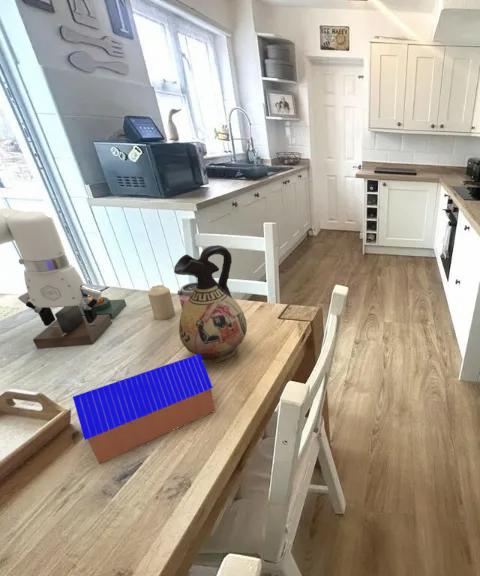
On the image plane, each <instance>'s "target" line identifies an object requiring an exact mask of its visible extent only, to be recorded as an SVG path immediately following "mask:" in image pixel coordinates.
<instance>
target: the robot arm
mask: <svg viewBox="0 0 480 576" xmlns="http://www.w3.org/2000/svg"><path fill="white" fill-rule="evenodd" d="M10 242H15V244H16V247H17V249H18V251H19V254H20V256H21V258H19V259H18V263H19V264H20V265H24V266H25V268H26V269H24V271H23V275H24V276H23V277H24V283H25V288H26V290H27V292H24V293H23V294H21V295H20V296H18V297H17V299H18V300H19V301H20V302H22V303H23V304H25V306H26V307H27V308H29V309H31V310H33V312H34V313H36V314H38V315H39V317H40V320H41V322H42V323H43V325H44V326H45V327H48V326H50V325H51V324H52V323H53V322H54V321H55V320H56V316H55V314H54V312H53V310H52V308H63V307H68V306H77V305H78V306H81V307H82V308H84V309H85V310H84V314H85V317H86V320H87V322H88V323H92V322H93V321H94V320H95V319H96V318H97V313H96V311H95V308H94V306H95V305H96V303H97V302H98V301H99V299H100V297H102V292H101V291H99V290H95V289H93V288H89V287H86V284H85V282H84V281H83V279H82V277H81V275H80V273H79V271H78V270H77V269H76V267H75V266H74V265H73V264H70V260H69V259H68V256H67V253H66V251H65V248H64V245H63V242H62V240H61V237H60V235H59V232H58V230H57V227H56V224H55V222H54V219H53V217H52V216H51V215H50V214H49V213H47V212H45V211H36V210H35V211H24V210H19V209H13V208H7V207H0V245H3V244H6V243H10ZM91 296H92V300H91V299H89V298H88V297H91ZM83 301H84V302H83ZM86 303H87V304H86Z"/></svg>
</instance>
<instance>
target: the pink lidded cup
mask: <svg viewBox="0 0 480 576" xmlns="http://www.w3.org/2000/svg"><path fill="white" fill-rule="evenodd" d="M197 284H198V281H197V282H190V283H186V284H184V285H182V286H181V287H180V289H178V290H177V293H176V294H177V296H178V298H179V302H180V306H181V312H182V311H183V308H184V306H185V304H186V303H187V301H188V299H189V297H190V295H191V294H192V292H193V291H194V289H195V288H196V286H197Z"/></svg>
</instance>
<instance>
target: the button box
mask: <svg viewBox="0 0 480 576" xmlns="http://www.w3.org/2000/svg"><path fill="white" fill-rule="evenodd" d="M101 297H102V299H103V302H102V303H100V304H97V305H95V306H94V308H95V311H96V313H97V315H107V314H109V315H110V318H111V321H112V320H115V319H116V317H117V316H118V315H119V314H120V313H121V312H122V311H123V310H124V309H125V307H126V306H127V303H126V300H125V299H124V298H123V299H109V297H105V296H101ZM83 302H84V301H83ZM86 304H87V303H86ZM78 306H79V305H78ZM79 308H80V311H81V313H82V316H85V314H84V310H85V309H84V308H82V307H81V306H79Z"/></svg>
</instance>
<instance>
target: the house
mask: <svg viewBox="0 0 480 576" xmlns="http://www.w3.org/2000/svg"><path fill="white" fill-rule="evenodd" d="M212 389H213V385H212V382H211V379H210V376H209V374H208V371H207V369H206V366H205V364H204V361H203V360H202V358H201V356H200V354H197V355H195V354H193V355H191V356H188V357H186V358H183V359H179V360H177V361H174V362H171V363H168V364H165V365H162V366H160V367H156V368H153V369H150V370H147V371H145V372H144V371H143V372H141V373H139V374H138V373H137V374H135V375H132V376H129V377H126V378H124V379H120V380H117V381H114V382H112V383H109V384H106V385H103V386H100V387H97V388H94V389H92V390H88V391H85V392H83V393H79V394H76V395H74V396H72V400H73V403H74V406H75V410H76V413H77V418H78V421H79V425H80V428H81V432H82V436H83V439H84V441H86V440H88V443H89V446H90V447H91V449H92V452H93V454H94V456H95V458H96V459H97V462H98V464H103V463H104V462H107V461H109V460H111V459H113V458H115V457H118V456H120V455H122V454H124V453H126V452H128V451H131V450H133V449H135V448H138V447H139V446H143V445H144V444H146V443H148V442H150V441H153V440H155V439H157V438H159V436H160V437H162V436H164V435H166V434H168V433H170V432H169V431H171V430H173V429H175V430H177V429H178V428H177V427H179V428H181V427H180V426H182V425H184V424H186V425H188V424H190V423H192V422H191V421H193V420H195V421H197V420H199V419H200V418H199V417H201V418H203V417H202V416H204V415H206V414H208V415H210V414H212V413H213V412H212V411H215V412H216V406H215V402H214V397H213V393H212ZM211 412H212V413H211ZM209 413H210V414H209ZM206 416H207V415H206ZM204 417H205V416H204ZM198 418H199V419H198ZM196 419H197V420H196ZM189 422H190V423H189ZM193 422H194V421H193ZM187 423H188V424H187ZM184 426H185V425H184ZM182 427H183V426H182ZM176 428H177V429H176ZM173 431H174V430H173ZM167 432H168V433H167ZM171 432H172V431H171ZM165 433H166V434H165ZM163 434H164V435H163ZM161 435H162V436H161ZM156 437H157V438H156Z"/></svg>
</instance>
